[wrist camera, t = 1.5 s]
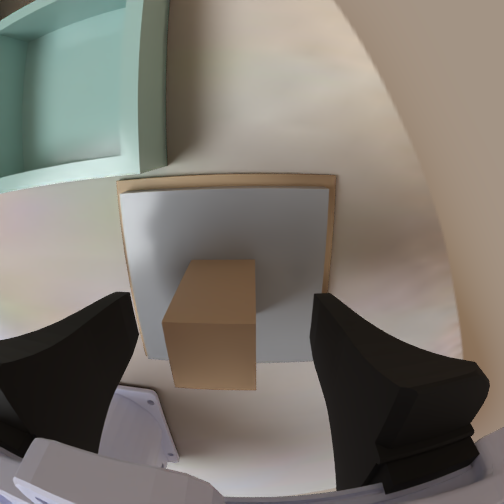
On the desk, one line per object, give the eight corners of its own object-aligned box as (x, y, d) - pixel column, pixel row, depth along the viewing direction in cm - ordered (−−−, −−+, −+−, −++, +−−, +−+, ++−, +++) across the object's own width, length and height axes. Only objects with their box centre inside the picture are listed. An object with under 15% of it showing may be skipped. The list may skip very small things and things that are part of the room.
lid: (310, 352, 16) (330, 433, 11) (152, 349, 16) (121, 426, 11) (324, 186, 13) (373, 218, 7) (126, 190, 13) (55, 224, 7)
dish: (167, 165, 13) (140, 173, 10) (23, 184, 13) (-18, 197, 10) (170, -8, 10) (149, -41, 6) (27, 38, 10) (-11, 27, 6)
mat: (317, 354, 16) (318, 358, 16) (147, 352, 16) (145, 355, 16) (334, 175, 13) (335, 175, 13) (118, 180, 13) (116, 181, 13)
